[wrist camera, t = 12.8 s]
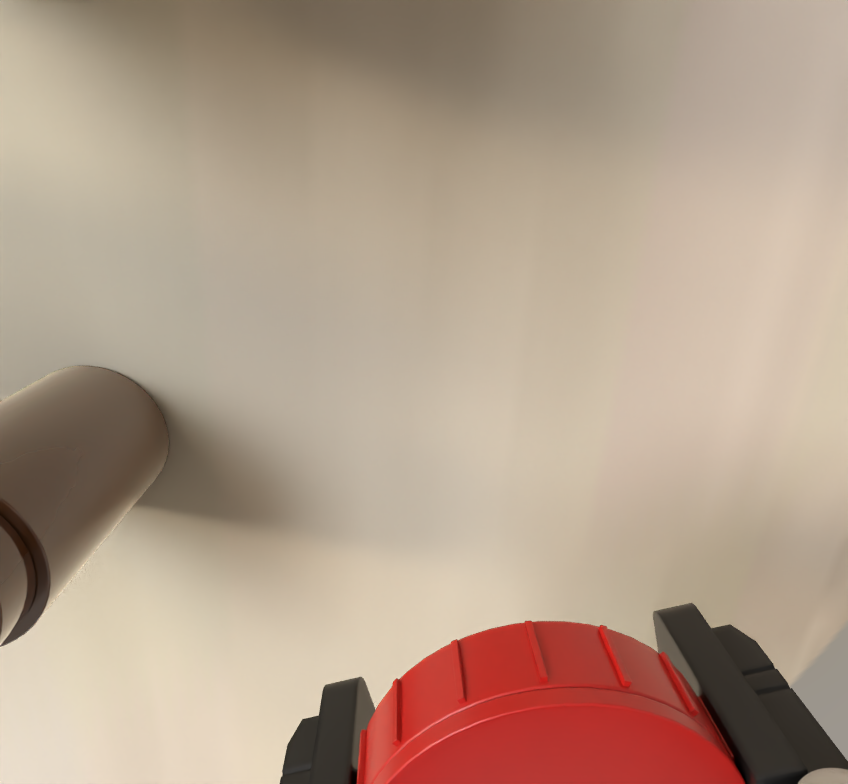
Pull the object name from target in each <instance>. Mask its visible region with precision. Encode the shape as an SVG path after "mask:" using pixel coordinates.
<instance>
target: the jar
mask: <svg viewBox="0 0 848 784" xmlns="http://www.w3.org/2000/svg"><path fill="white" fill-rule="evenodd" d="M168 450H169V437H168V430H167V426H166V423H165V420H164V418H163V415H162V413H161V411H160V410H159V408H158V406H157V405H156V403H155V402H154V401H153V399H152V398H151V397H150V396H149V395H148V394H147V393H146V392H145V391H144V390H143V389H142V388H141V387H140V386H139V385H137V384H136V383H134V382H133V381H131V380H130V379H128V378H127V377H125V376H123V375H121V374H119V373H116V372H114V371H111V370H108V369H104V368H100V367H93V366H72V367H67V368H63V369H59V370H57V371H54V372H52V373H50V374H48V375H46V376H44V377H43V378H41V379H39V380H37V381H35V382H34V383H32V384H30V385H28V386H26V387H24V388H23V389H21V390H19V391H17V392H15V393H14V394H12V395H10V396H8V397H6V398H5V399H3V400H1V401H0V647H1V646H4V645H6V644H8V643H10V642H12V641H14V640H16V639H18V638H19V637H21V636H22V635H24V634H25V633H27V632H28V631H29V630H30V629H31V628H32V627H33V626H34V625H35V624H36V623H37V621H38V620H39V619H40V618H41V617H42V615H43V614H44V613H45V612H46V610H47V609H48V608H49V607H50V606H51V604H52V603H53V602H54V601H55V600H56V598H57V597H58V596H59V595H60V594H61V592H62V591H63V590H64V589H65V588H66V586H67V585H68V584H69V583H70V581H71V580H72V579H73V578H74V577H75V575H76V574H77V573H78V572H79V571H80V569H81V568H82V567H83V566H84V565H85V563H86V562H87V561H88V560H89V559H90V557H91V556H92V555H93V554H94V552H95V551H96V550H97V549H98V548H99V546H100V545H101V544H102V543H103V542H104V540H105V539H106V538H107V537H108V536H109V534H110V533H111V532H112V531H113V530H114V528H115V527H116V526H117V525H118V523H119V522H120V521H121V520H122V519H123V517H124V516H125V515H126V514H127V513H128V511H129V510H130V509H131V508H132V507H133V505H134V504H135V503H136V502H137V501H138V499H139V498H140V497H141V496H142V495H143V493H144V492H145V491H146V490H147V488H148V487H149V486H150V485H151V484H152V482H153V481H154V480H155V479H156V477H157V476H158V475H159V474H160V472H161V470H162V468H163V467H164V465H165V462H166V459H167V455H168Z"/></svg>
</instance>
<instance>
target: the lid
mask: <svg viewBox="0 0 848 784" xmlns="http://www.w3.org/2000/svg"><path fill="white" fill-rule="evenodd" d="M357 784H746V783H745V781H744V779H743V777H742V775H741V773H740V771H739V769H738V768H737V766H736V764H735V760H734V755H733V754H732V752H731V750H730V748H729V747H728V745H727V743H726V741H725V740H724V738H723V736H722V734H721V733H720V731H719V729H718V727H717V726H716V724H715V722H714V720H713V719H712V717H711V715H710V713H709V712H708V710H707V708H706V706H705V705H704V703H703V701H702V699H701V698H700V696H697V695H696V693H695V692H694V690H693V688H692V687H691V686H690V684H689V683H688V681H687V680H686V679H685V677H684V676H683V674H682V673H681V672H680V671H679V670H678V669H677V668H676V667H675V666H674V665H673V664H672V662H671V660H670V659H669V657H668V655H667V654H666V653H664V652H662V653H660V654H659V653H658V652H656V651H655V650H653V649H652V648H651V647H649V646H647V645H645V644H643V643H641V642H639V641H638V640H636V639H634V638H632V637H629V636H627V635H624V634H621V633H619V632H616V631H613V630H610V629H607V627H606V626H603V625H600V627H598V626H593V625H589V624H582V623H574V622H565V621H537V622H532V621H525V623H517V624H511V625H506V626H501V627H497V628H492V629H488V630H485V631H482V632H479V633H476V634H473V635H470V636H467V637H465V638H462V639H460V640H457V639H456V640H454V641H452V642H451V644H449V645H447V646H445V647H443V648H441V649H440V650H438V651H436V652H435V653H433V654H431V655H429V656H428V657H426V658H425V659H423V660H422V661H421V662H419V663H418V664H417V665H415V666H414V667H413V668H411V669H410V670H409V671H408V672H406V673H405V674H404V675H403V676H402V677H401V678H400V679H396V680H395V681H394V682H393V686H392V688H391V689H390V690H389V691H388V693H387V694H386V695H385V697H384V698H383V699H382V701H381V702H380V703H379V705H378V707H377V709H376V710H375V712H374V714H373V716H372V718H371V719H370V721H369V724H368V727H367V729H366V730H364V729H362V730H361V733H360V743H359V757H358V771H357Z"/></svg>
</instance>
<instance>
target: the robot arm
mask: <svg viewBox="0 0 848 784" xmlns="http://www.w3.org/2000/svg"><path fill="white" fill-rule="evenodd" d="M653 620H654V626H655V633H656V639H657V646H658V652H659V654H660V653H662V652H664V653H666V654H667V655H668V657H669V659H670V660H671V662H672V664H673V665H674V666H675V667H676V668H677V669H678V670H679V671H680V672H681V673H682V674H683V676H684V677H685V679H686V680H687V681H688V683H689V684H690V686H691V687H692V688H693V690H694V692H695V693H696V695H697V696H700V698H701V699H702V701H703V703H704V705H705V706H706V708H707V710H708V712H709V713H710V715H711V717H712V719H713V720H714V722H715V724H716V726H717V727H718V729H719V731H720V733H721V734H722V736H723V738H724V740H725V741H726V743H727V745H728V747H729V748H730V750H731V752H732V754H733V755H734V760H735V764H736V766H737V768H738V769H739V771H740V773H741V775H742V777H743V779H744V781H745V783H746V784H848V761H847V760H846V759H845V757H844V756H843V755H842V753H841V752H840V751H839V749H838V748H837V747H836V746H835V744H834V743H833V742H832V740H831V739H830V738H829V736H828V735H827V734H826V732H825V731H824V730H823V729H822V727H821V726H820V725H819V723H818V722H817V721H816V719H815V718H814V717H813V716H812V714H811V713H810V712H809V710H808V709H807V708H806V706H805V705H804V704H803V702H802V701H801V700H800V698H799V697H798V696H797V695H796V693H795V692H794V691H793V689H792V688H791V689H790V687H789V685H788V683H787V681H786V680H785V679H784V678H783V676H782V675H781V674H780V672H779V671H778V670H777V669H775V668H774V665H773V663H772V662H771V661H770V659H769V658H768V657H767V655H766V654H765V653H764V651H763V650H762V649H761V647H760V646H759V645H758V644H757V642H756V641H754V640H753V639H751V638H750V637H748V636H747V635H745V634H744V633H742V632H741V631H739V630H738V629H736V628H735V627H733V626H732V625H725V626H721V627H717V628H712V629H711V628H710V626H709V625H708V623H707V622H706V620H705V619H704V617H703V616H702V614H701V613H700V612H699V610H698V609H697V607H696V606H695V605H694V604H692V603H689V604H684V605H680V606H675V607H671V608H667V609H662V610H658V611H654V613H653ZM374 712H375V708H374V705H373V702H372V699H371V697H370V694H369V691H368V688H367V685H366V683H365V681H364V679H363V678H362V677H358V678H354V679H349V680H345V681H340V682H336V683H332V684H327V685H325V687H324V689H323V693H322V699H321V706H320V712H319V716H315V717H311V718H306V719H302V721H301V723H300V724H299V726H298V728H297V730H296V731H295V733H294V735H293V736H292V738H291V740H290V742H289V743H288V746H287V750H286V755H285V760H284V765H283V770H282V772H283V776H282V777H281V780H280V784H357V771H358V757H359V743H360V733H361V730H362V729H364V730H366V729H367V727H368V724H369V721H370V719H371V718H372V716H373V714H374Z"/></svg>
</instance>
